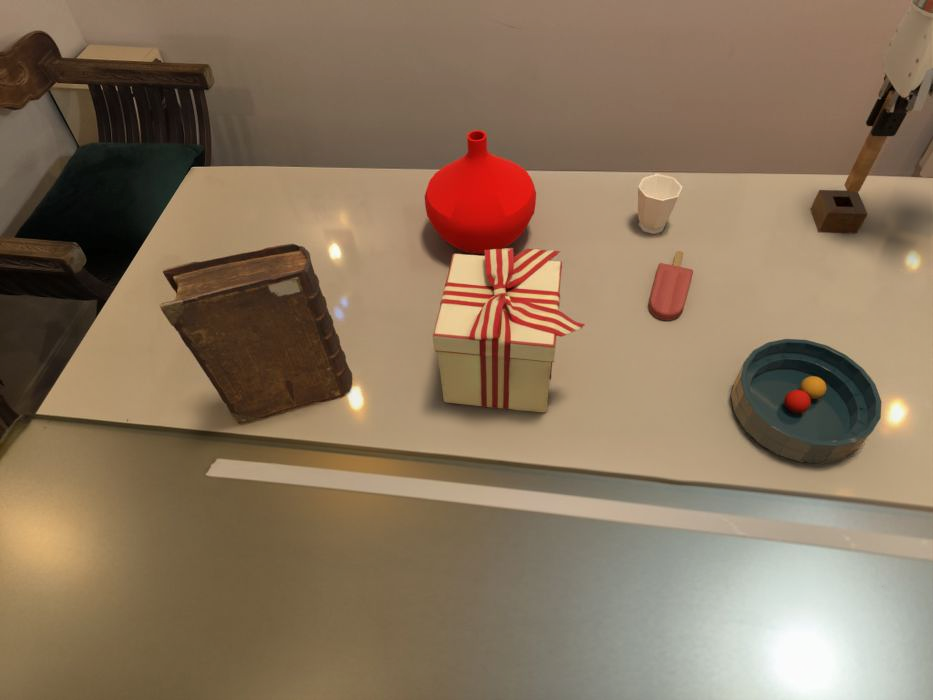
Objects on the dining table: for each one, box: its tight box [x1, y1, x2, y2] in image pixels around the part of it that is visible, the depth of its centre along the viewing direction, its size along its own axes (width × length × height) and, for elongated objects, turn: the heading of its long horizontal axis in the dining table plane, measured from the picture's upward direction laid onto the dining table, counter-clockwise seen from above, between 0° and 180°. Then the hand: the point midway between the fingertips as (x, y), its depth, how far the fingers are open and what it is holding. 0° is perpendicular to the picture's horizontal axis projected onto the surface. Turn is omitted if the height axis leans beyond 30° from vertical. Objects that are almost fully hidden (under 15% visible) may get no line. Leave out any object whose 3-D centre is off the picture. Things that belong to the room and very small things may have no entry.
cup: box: [637, 173, 683, 235], centre depth 102 cm, size 7×10×8 cm
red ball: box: [784, 390, 811, 413], centre depth 79 cm, size 3×3×3 cm
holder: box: [810, 189, 869, 234], centre depth 101 cm, size 6×6×4 cm
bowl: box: [730, 338, 883, 465], centre depth 78 cm, size 16×16×5 cm
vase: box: [424, 129, 537, 255], centre depth 98 cm, size 18×18×19 cm
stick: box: [843, 91, 908, 193], centre depth 91 cm, size 2×2×16 cm
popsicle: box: [648, 250, 694, 321], centre depth 95 cm, size 5×2×15 cm
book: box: [159, 243, 354, 425], centre depth 77 cm, size 17×7×25 cm, turn 100°
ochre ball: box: [800, 376, 826, 399], centre depth 80 cm, size 3×3×3 cm
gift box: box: [432, 247, 586, 413], centre depth 81 cm, size 17×18×17 cm
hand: (879, 129), depth 89 cm, fingers closed on stick, 1 cm apart
